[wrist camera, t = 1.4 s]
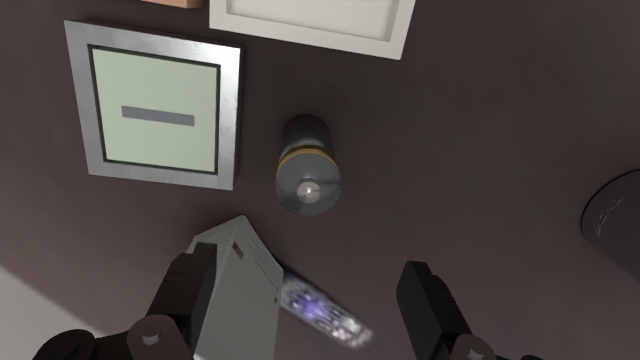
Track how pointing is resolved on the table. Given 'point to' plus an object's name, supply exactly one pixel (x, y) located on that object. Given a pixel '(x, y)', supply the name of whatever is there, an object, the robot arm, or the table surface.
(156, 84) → the plate
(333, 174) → the cell
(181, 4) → the dish
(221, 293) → the skincare box
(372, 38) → the trough
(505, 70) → the table surface
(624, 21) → the table surface
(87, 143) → the grey square slotted tray
